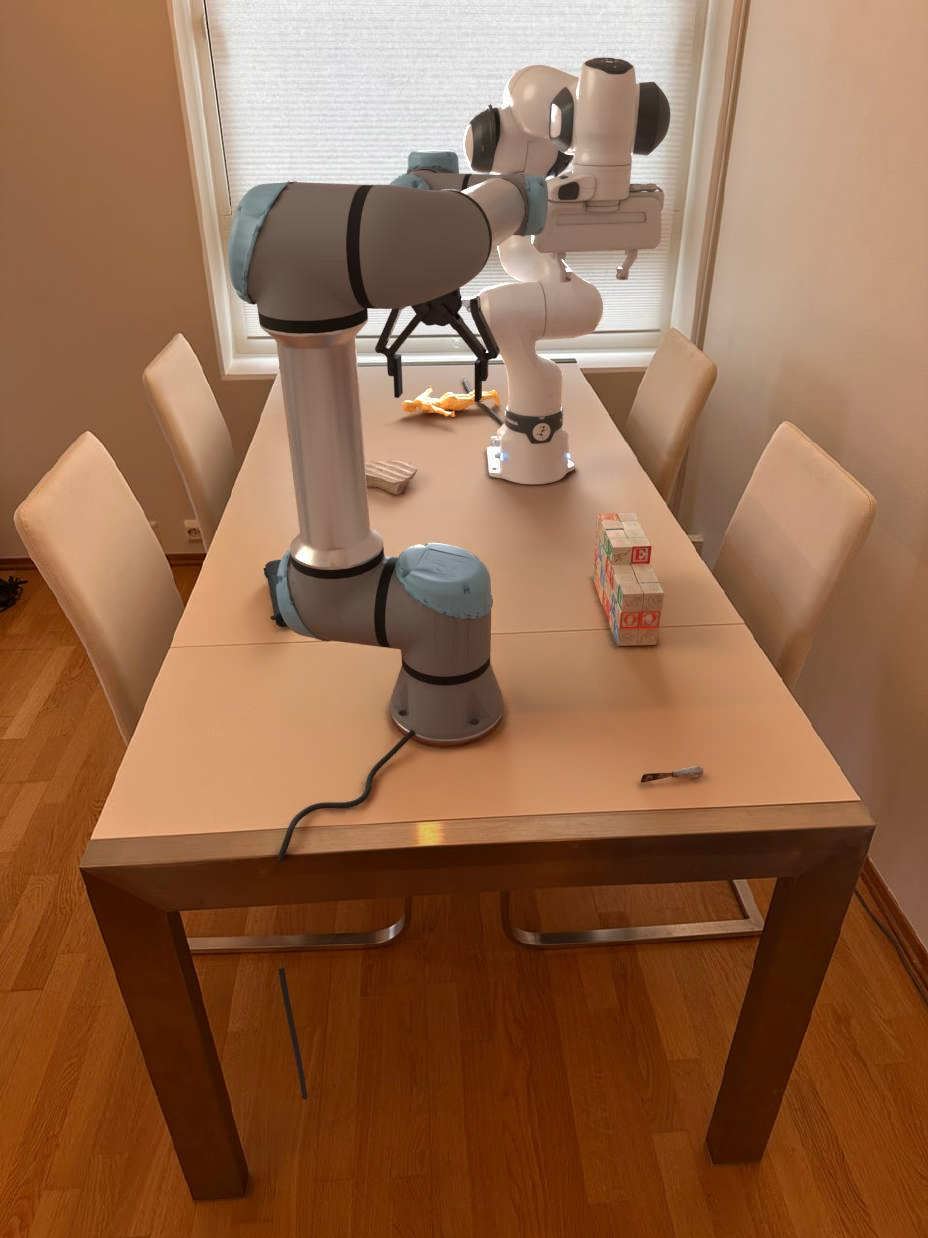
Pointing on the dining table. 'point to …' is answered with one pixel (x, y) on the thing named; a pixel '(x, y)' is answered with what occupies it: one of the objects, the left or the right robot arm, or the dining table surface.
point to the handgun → (274, 590)
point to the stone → (389, 475)
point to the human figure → (446, 402)
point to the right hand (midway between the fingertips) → (593, 280)
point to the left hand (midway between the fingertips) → (438, 397)
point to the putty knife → (674, 774)
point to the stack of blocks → (627, 579)
